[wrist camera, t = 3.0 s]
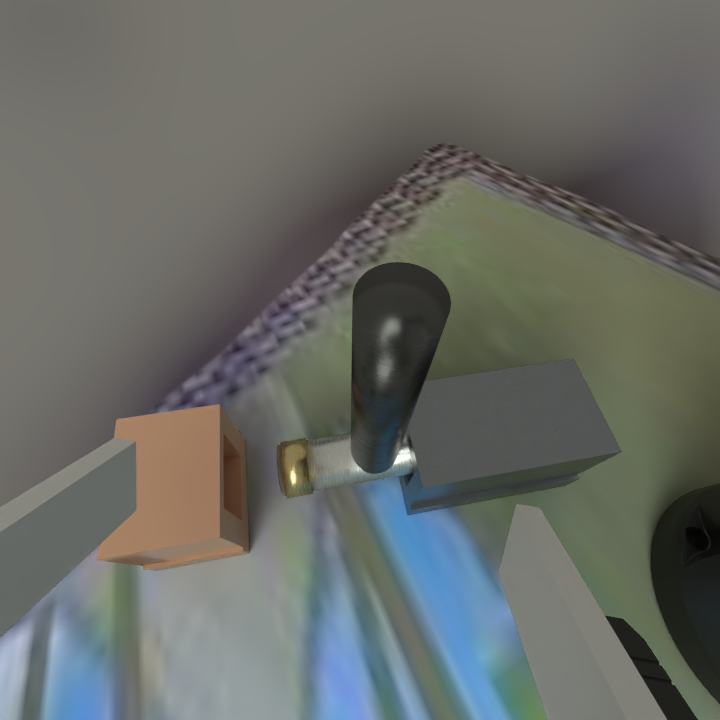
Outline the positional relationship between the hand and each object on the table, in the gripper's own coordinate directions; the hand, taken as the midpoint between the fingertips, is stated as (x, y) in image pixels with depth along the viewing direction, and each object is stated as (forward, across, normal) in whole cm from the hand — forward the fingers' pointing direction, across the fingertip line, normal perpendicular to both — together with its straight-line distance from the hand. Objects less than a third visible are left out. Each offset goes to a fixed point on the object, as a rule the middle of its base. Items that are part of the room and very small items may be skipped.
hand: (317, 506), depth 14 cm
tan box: (+12, -10, -9) cm, 18 cm away
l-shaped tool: (+14, +6, -4) cm, 16 cm away
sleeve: (+17, +9, -5) cm, 20 cm away
